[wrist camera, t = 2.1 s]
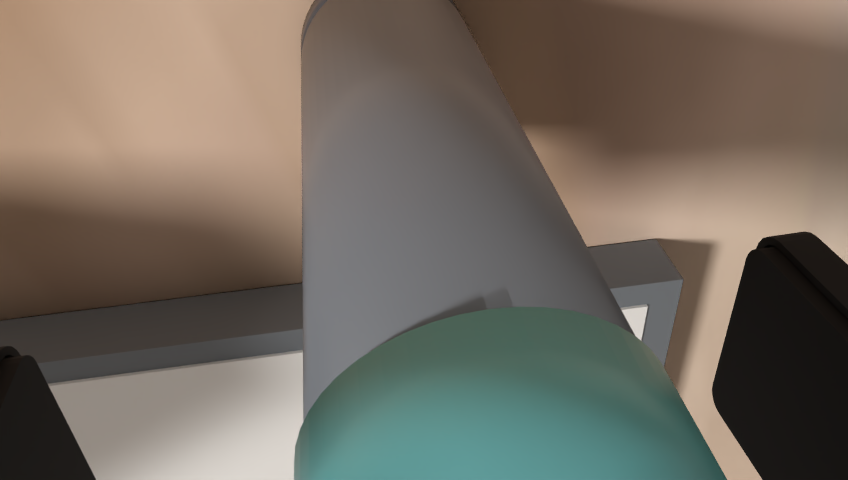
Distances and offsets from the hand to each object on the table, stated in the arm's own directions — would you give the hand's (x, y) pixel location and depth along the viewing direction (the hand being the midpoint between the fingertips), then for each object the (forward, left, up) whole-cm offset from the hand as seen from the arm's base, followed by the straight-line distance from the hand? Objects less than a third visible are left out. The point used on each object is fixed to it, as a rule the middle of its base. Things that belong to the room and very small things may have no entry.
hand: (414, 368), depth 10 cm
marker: (-1, -1, -10) cm, 10 cm away
